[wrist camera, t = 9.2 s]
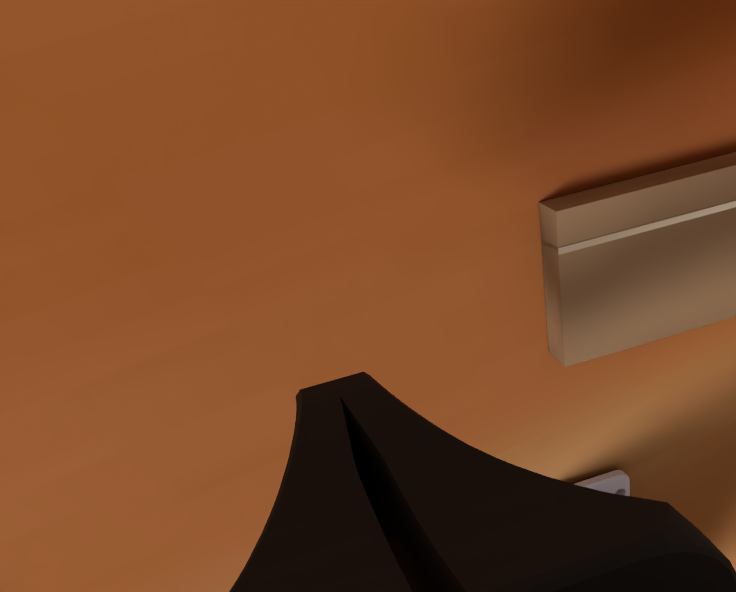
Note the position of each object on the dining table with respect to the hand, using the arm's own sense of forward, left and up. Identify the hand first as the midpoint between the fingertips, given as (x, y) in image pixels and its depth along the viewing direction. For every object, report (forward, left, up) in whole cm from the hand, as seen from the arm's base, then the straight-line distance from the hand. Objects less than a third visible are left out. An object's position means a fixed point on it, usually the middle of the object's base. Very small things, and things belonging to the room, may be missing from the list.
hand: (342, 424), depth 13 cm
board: (-3, -18, -10) cm, 21 cm away
